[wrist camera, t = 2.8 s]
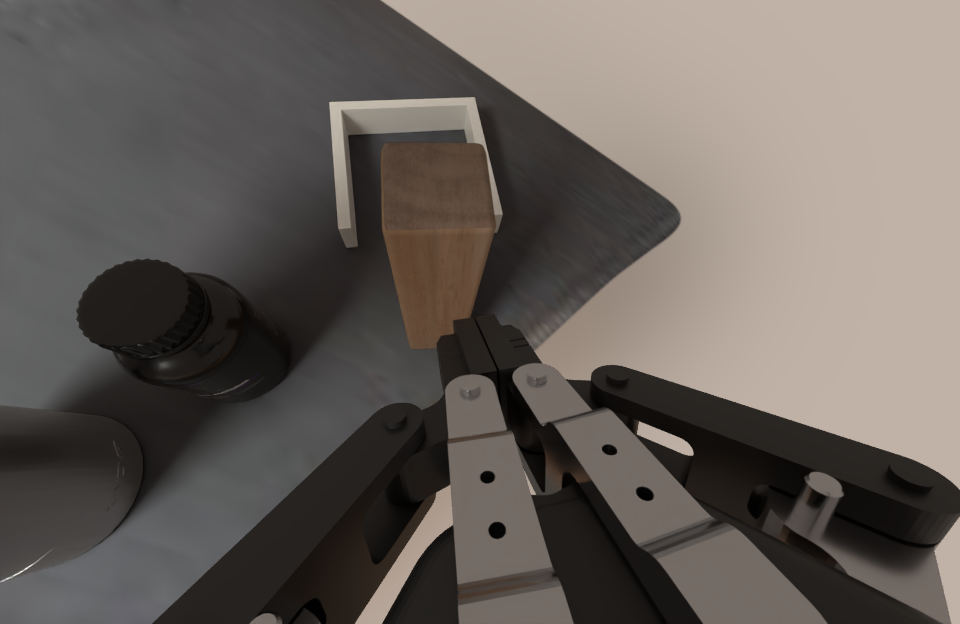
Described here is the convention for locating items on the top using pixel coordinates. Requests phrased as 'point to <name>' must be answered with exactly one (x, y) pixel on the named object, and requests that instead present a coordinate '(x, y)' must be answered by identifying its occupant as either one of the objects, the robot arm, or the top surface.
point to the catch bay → (396, 120)
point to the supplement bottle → (184, 331)
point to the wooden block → (436, 232)
